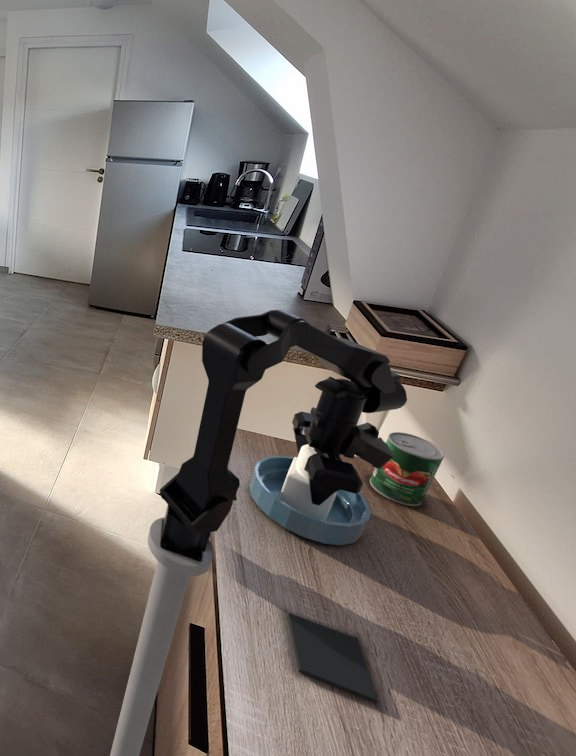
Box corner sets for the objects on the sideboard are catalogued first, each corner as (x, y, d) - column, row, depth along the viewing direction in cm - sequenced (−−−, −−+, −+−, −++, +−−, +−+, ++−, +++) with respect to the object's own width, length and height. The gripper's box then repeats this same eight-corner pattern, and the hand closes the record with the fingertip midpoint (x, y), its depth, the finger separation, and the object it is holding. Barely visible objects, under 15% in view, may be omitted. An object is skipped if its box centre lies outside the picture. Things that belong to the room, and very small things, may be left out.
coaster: (298, 671, 58) (299, 668, 57) (287, 615, 64) (288, 612, 64) (376, 703, 55) (378, 700, 54) (356, 641, 61) (357, 638, 61)
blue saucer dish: (253, 525, 79) (261, 503, 78) (244, 465, 94) (250, 446, 92) (374, 563, 73) (386, 540, 71) (344, 493, 88) (353, 472, 86)
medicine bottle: (328, 505, 84) (350, 452, 79) (323, 527, 79) (345, 472, 74) (284, 485, 88) (302, 434, 84) (276, 505, 83) (294, 451, 79)
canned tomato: (410, 483, 91) (432, 438, 87) (430, 511, 84) (454, 463, 80) (362, 472, 94) (381, 427, 90) (378, 498, 87) (399, 451, 83)
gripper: (422, 461, 65) (383, 542, 71) (377, 398, 81) (348, 468, 87) (329, 439, 69) (299, 517, 75) (303, 383, 85) (281, 451, 91)
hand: (309, 486), depth 82 cm, fingers open, 9 cm apart
